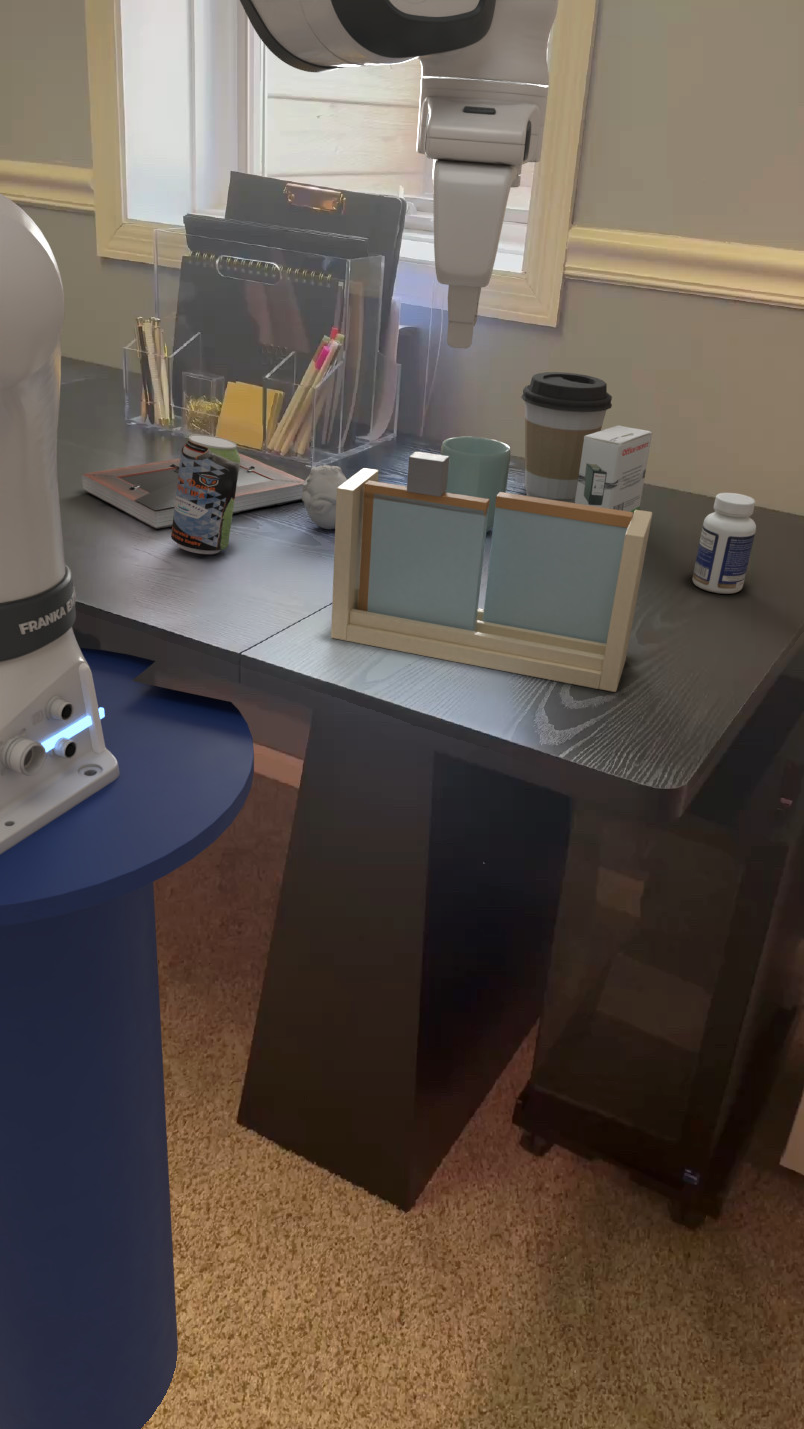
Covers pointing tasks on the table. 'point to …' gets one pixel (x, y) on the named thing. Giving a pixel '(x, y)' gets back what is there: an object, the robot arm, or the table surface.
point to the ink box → (613, 468)
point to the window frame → (518, 591)
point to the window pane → (422, 547)
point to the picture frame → (155, 488)
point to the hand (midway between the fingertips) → (462, 335)
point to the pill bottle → (725, 544)
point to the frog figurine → (322, 494)
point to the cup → (477, 469)
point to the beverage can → (205, 494)
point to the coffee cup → (560, 430)
